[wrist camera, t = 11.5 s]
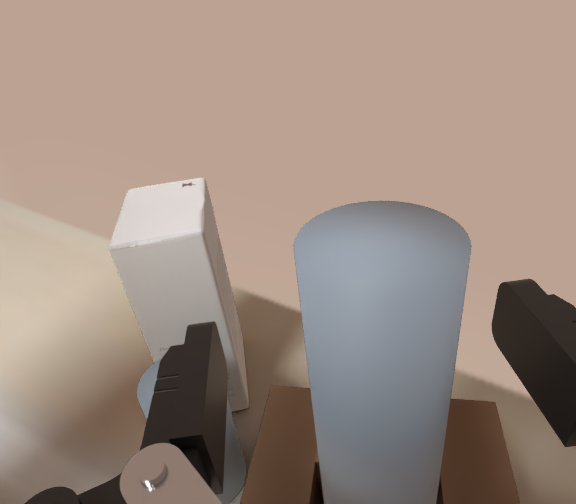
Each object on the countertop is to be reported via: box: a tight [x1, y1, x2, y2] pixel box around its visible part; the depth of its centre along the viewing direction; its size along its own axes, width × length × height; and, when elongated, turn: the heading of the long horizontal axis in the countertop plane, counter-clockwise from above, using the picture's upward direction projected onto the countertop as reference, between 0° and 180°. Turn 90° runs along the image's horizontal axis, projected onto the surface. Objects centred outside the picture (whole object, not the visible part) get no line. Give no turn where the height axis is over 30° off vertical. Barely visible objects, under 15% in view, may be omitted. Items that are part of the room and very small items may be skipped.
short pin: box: [137, 357, 246, 504], centre depth 20 cm, size 3×3×7 cm
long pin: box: [294, 201, 471, 504], centre depth 13 cm, size 3×3×16 cm
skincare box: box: [108, 178, 249, 412], centre depth 24 cm, size 6×4×12 cm
